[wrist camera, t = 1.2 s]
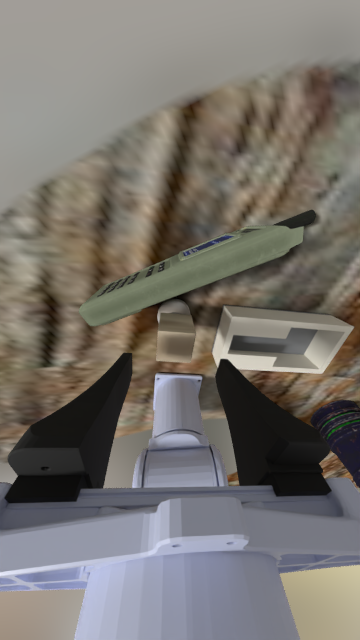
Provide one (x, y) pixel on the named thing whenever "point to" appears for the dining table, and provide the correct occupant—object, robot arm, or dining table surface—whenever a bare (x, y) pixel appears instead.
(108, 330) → the dining table surface
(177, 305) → the keyhole peg
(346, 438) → the storage jar
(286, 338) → the white hollow rectangular frame
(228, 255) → the handheld radio
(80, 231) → the dining table surface
